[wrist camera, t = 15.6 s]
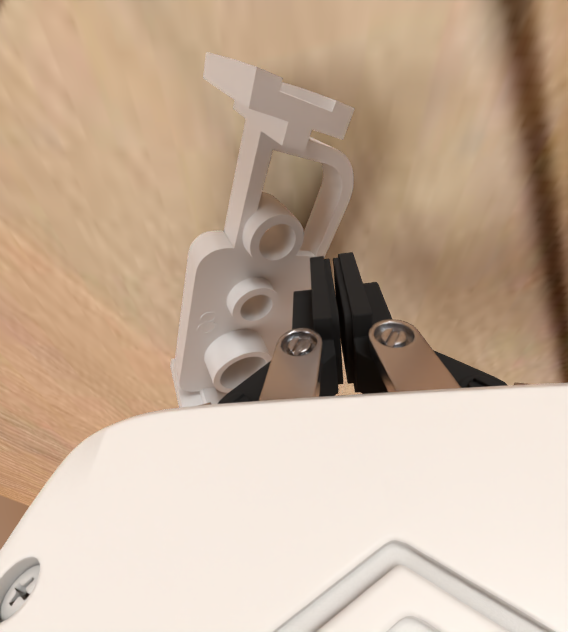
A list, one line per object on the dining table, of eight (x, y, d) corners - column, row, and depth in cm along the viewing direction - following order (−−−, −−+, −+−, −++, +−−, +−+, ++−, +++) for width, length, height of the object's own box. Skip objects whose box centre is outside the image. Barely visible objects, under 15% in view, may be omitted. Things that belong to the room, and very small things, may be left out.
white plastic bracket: (176, 352, 19) (140, 426, 15) (233, 61, 11) (188, 26, 6) (265, 376, 20) (257, 452, 16) (380, 128, 12) (433, 138, 7)
